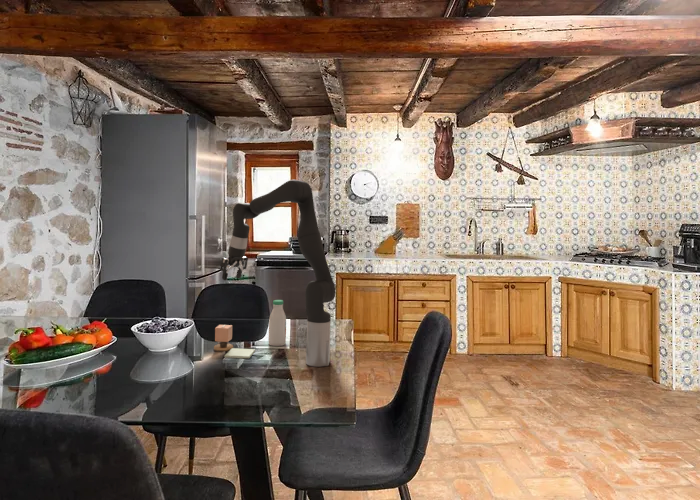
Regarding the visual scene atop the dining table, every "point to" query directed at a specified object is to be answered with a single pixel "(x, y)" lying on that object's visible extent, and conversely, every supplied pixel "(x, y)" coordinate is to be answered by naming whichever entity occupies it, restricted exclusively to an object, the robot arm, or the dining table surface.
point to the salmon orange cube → (223, 333)
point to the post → (223, 346)
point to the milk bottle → (277, 324)
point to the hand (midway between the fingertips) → (231, 278)
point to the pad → (240, 353)
